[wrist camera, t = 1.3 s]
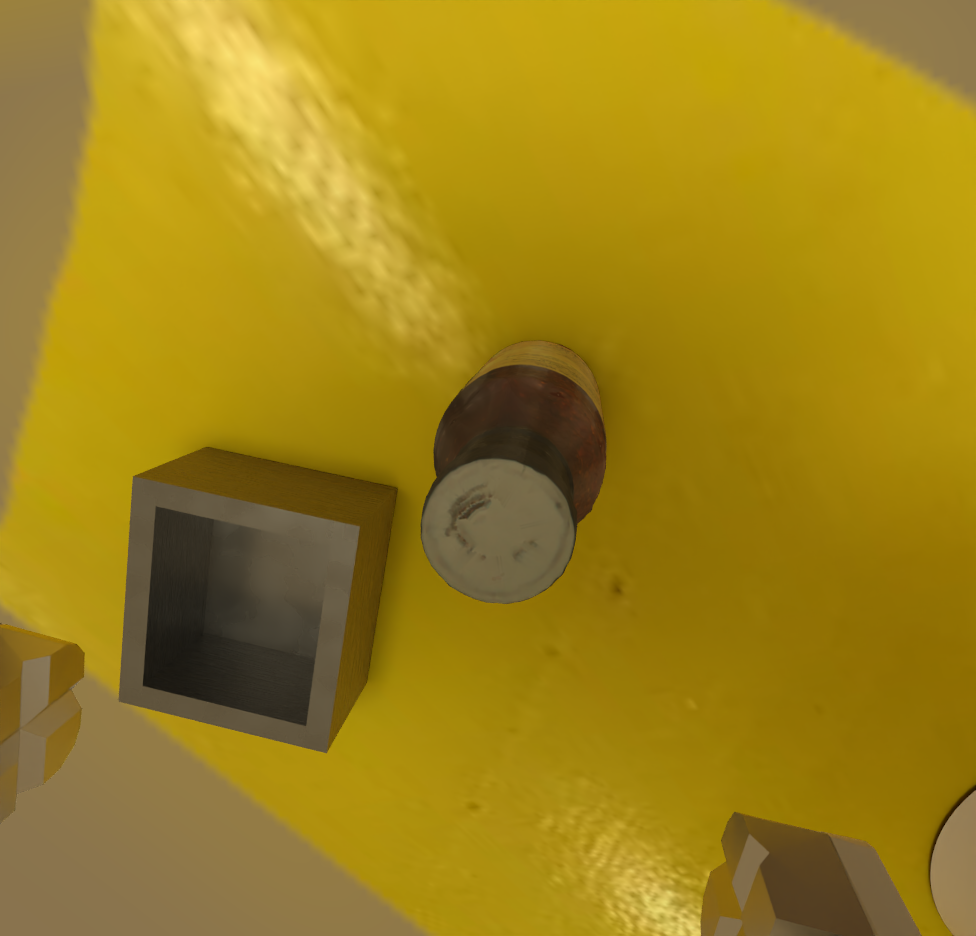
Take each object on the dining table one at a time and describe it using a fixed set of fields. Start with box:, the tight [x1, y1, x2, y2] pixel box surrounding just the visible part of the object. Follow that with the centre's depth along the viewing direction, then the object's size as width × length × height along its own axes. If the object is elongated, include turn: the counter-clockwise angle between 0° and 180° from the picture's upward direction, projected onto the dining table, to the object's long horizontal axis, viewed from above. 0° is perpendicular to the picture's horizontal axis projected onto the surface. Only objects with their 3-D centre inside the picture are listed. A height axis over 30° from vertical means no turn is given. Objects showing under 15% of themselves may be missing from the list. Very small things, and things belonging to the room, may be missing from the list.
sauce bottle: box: [421, 341, 606, 604], centre depth 28 cm, size 6×6×20 cm
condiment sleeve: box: [119, 447, 397, 753], centre depth 38 cm, size 11×12×7 cm
